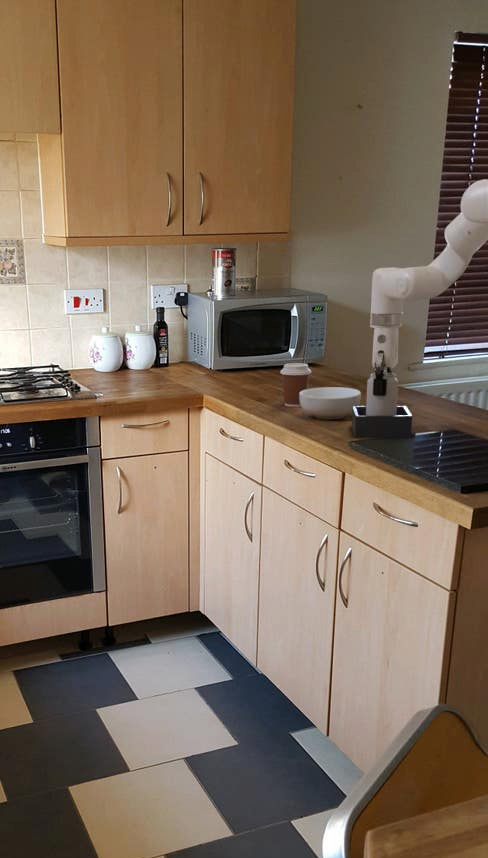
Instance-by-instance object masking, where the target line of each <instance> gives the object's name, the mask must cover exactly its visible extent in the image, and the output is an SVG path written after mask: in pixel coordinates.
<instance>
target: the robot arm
mask: <svg viewBox="0 0 488 858" xmlns="http://www.w3.org/2000/svg"><path fill="white" fill-rule="evenodd" d="M444 238H445V241H446V243H447V244H446V246H445V248H444V249H443V251H441V253H440V254H439V255H438V256H437V257H436V258H434V260H433V261H432V262H430V263H429V264H428V265H423V266H412V267H404V268H401V267H379V268H376V269H375V270H374V271H373V273H372V278H371V279H372V280H371V301H370V320H369V321H370V322H369V326H370V327H369V328H372V329H373V328H374V330H373V342H372V343H373V345H372V368H373V369H374V372H373V373H374V380H373V395H374V396H385V395H386V390H387V379H386V374H387V373H393V369H394V368H395V367H396V366H397V365H398V364H399V328H402V327H403V325H402V324H403V311H404V310H403V309H404V301H405V302H411V301H413V302H414V301H419V300H427V299H433V298H436V297H438V296H439V295H441V294H443V293H444V292H445V291H446V290H447V289H449V287H451V285H453V284H454V283H455V282H456V281H457V280H458V279H459V278H460V277H461V276H462V275H463V273H464V272H465V271H466V269H467V268H468V265H469V264H470V262H471V261H472V258H473V255H475V253H476V252H477V251H478V250H479V249H481V247H482V246H483V245H484V244H485V243H486V242H488V179H486V178H485V179H479V180H477V181H474V182H473V183H472V184H470V185H469V186H468V187H467V188H466V190H465V191H464V193H463V194H462V197H461V200H460V213H459V214H458V215H457V216H456V217H455V218H454V219H453V220H452V221H450V223H449V224H447V226H446V227H445V230H444ZM383 373H384V374H383Z"/></svg>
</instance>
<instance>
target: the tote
mask: <svg viewBox="0 0 488 858" xmlns="http://www.w3.org/2000/svg"><path fill="white" fill-rule="evenodd" d="M350 427H351V431H352V433H353V437H354V438H355V439H411V438H412V428H413V415H412V413H411V412H410V410H409V409H408V407H407V406H406V405H397V411H396V415H390V416H366V405H361V406H360V405H359V406H352V413H351V426H350Z"/></svg>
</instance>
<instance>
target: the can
mask: <svg viewBox="0 0 488 858" xmlns="http://www.w3.org/2000/svg"><path fill="white" fill-rule="evenodd" d="M374 373H375V372H373V373H370V374H369V375H370V377H369V378H368V379H367V382H366V383H367V384H366V386H367V387H366V404H365V406H366V416H390V415H396V411H397V406H398V393H399V392H398V390H399V380H398V379H397V377H396V376H397V374H396V373H394V372H392V373H387V374H386V379H387V390H386V395H385V396H374V395H373V380H374ZM383 374H384V373H383Z"/></svg>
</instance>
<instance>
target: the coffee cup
mask: <svg viewBox="0 0 488 858" xmlns="http://www.w3.org/2000/svg"><path fill="white" fill-rule="evenodd" d="M280 374H281V375H282V386H283V401H284V402H283V403H284V406H286V407H301V405H300V399H299V393H300V392H301V391H303V390H306V389H309V379H310V375H311V374H312V370H311V369H310V368H309V365H308V363H303V362H302V363H301V362H293V363H292V362H291V363H285V364H284V365H283V368H282V369H281V370H280Z"/></svg>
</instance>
